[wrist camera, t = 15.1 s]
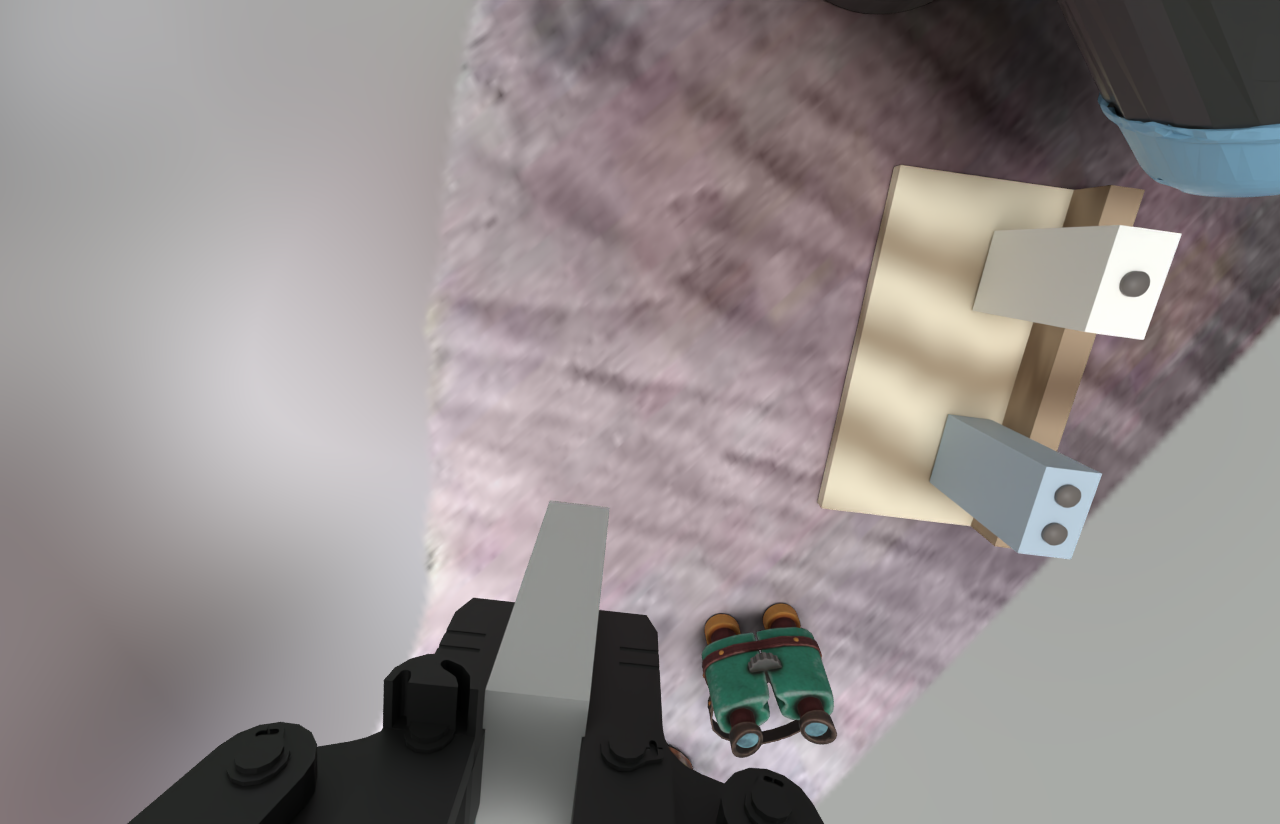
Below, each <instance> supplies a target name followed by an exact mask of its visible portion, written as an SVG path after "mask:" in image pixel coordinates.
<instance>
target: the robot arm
mask: <svg viewBox="0 0 1280 824" xmlns="http://www.w3.org/2000/svg"><path fill="white" fill-rule="evenodd" d="M826 1H828V2H830V3H832V4H834V5H837V6H840V7H842V8H845V9H848V10H852V11H856V12H861V13H870V14H888V13H896V12H902V11H906V10H911V9H914V8H917V7H920V6H922V5H925V4H927V3H930V2H932V1H934V0H826ZM1057 1H1058V3H1059V5H1060V8H1061V10H1062V12H1063V14H1064V16H1065V18H1066V20H1067V23H1068V25H1069V27H1070V29H1071V31H1072V33H1073V36H1074V38H1075V40H1076V42H1077V44H1078V46H1079V49H1080V51H1081V53H1082V55H1083V57H1084V59H1085V61H1086V64H1087V66H1088V68H1089V70H1090V72H1091V74H1092V77H1093V79H1094V81H1095V83H1096V85H1097V87H1098V90H1099V92H1100V93H1099V97H1098V102H1099V104H1100V106H1101V109H1102V111H1103V113H1104V114H1105V115H1106V116H1107V118H1108V119H1109V120H1111V121H1112V122H1114V123H1115V124H1117V125H1118V126H1119V128H1120V130H1121V132H1122V133H1123V135H1124V137H1125V139H1126V140H1127V142H1128V144H1129V146H1130V148H1131V150H1132V151H1133V153H1134V155H1135V157H1136V159H1137V161H1138V162H1139V164H1140V166H1141V167H1142V169H1143V170H1144V171H1145V172H1146V173H1147V174H1148V175H1149V176H1150V177H1151V178H1153V179H1154V180H1155V181H1157V182H1158V183H1161V184H1165V185H1168V186H1172V187H1174V188H1177V189H1179V190H1181V191H1182V192H1185V193H1189V194H1194V195H1201V196H1212V197H1258V196H1270V195H1279V194H1280V0H1057ZM608 518H609V508H608V507H600V506H591V505H583V504H574V503H566V502H558V501H550V502H549V505H548V508H547V511H546V514H545V516H544V519H543V522H542V525H541V528H540V531H539V534H538V537H537V540H536V543H535V546H534V549H533V552H532V555H531V558H530V560H529V563H528V566H527V569H526V572H525V575H524V578H523V581H522V584H521V587H520V590H519V593H518V596H517V599H516V602H507V601H498V600H489V599H480V598H472V599H471V600H470V601H469V602H467V603H466V604H465V605H464V606H462V607H461V608H460V609H459V610H457V611H456V612H455V614H454V616H453V618H452V620H451V622H450V624H449V626H448V628H447V631H446V633H445V634H444V636H443V638H442V640H441V642H440V644H439V648H437V650H436V652H435V654H426V655H423V656H419V657H415V658H412V659H409V660H407V661H406V662H404V663H402V664H401V665H399V666H397V667H395V668H394V669H393V670H392V672H391V673H390V674H389V675H388V676H387V677H386V678H385V679H384V704H383V729H382V731H380V732H378V733H376V734H373V735H371V736H369V737H366V738H362V739H358V740H354V741H350V742H344V743H338V744H331V745H326V746H319V747H317V743H316V741H315V739H314V737H313V735H312V732H310V731H309V730H307V729H305V728H304V727H302V726H300V725H299V724H291V723H284V722H277V723H271V724H264V725H259V726H256V727H253V728H251V729H248V730H246V731H243V732H240V733H238V734H236V735H235V736H233V737H232V738H230V739H229V740H227V741H226V742H224V743H223V744H221V745H220V746H218V747H217V748H216V749H215V750H214V751H212V752H211V753H210V754H209V755H208V756H206V757H205V758H204V759H203V760H202V761H201V762H199V763H198V764H197V765H196V766H195V767H193V768H192V769H191V770H190V771H189V772H188V773H186V774H185V775H184V776H183V777H182V778H181V779H179V780H178V781H177V782H176V783H175V784H173V785H172V786H171V787H170V788H169V789H168V790H166V791H165V792H164V793H163V794H162V795H160V796H159V797H158V798H157V799H156V800H155V801H153V802H152V803H151V804H150V805H149V806H148V807H146V808H145V809H144V810H143V811H142V812H141V813H139V814H138V815H137V816H136V817H135V818H133V819H132V820H131V821H130V822H129V823H128V824H474V823H475V824H824V823H823V821H822V819H821V817H820V816H819V814H818V812H817V810H816V808H815V807H814V805H813V803H812V802H811V801H810V799H809V798H808V797H807V795H806V794H805V793H804V792H803V790H802V789H801V788H800V787H799V786H797V785H796V784H795V783H793V782H792V781H791V780H789V779H788V778H787V777H785V776H783V775H781V774H778V773H776V772H773V771H771V770H768V769H759V768H748V769H745V770H742V771H738V772H735V773H734V774H733V775H732V776H731V777H730V778H729V779H728V780H727V781H726V782H725V784H724V783H722V782H719V781H717V780H714V779H712V778H709V777H707V776H705V775H702V774H700V773H698V772H696V771H694V770H692V769H690V768H689V767H688V766H686V765H685V764H684V763H682V762H681V761H680V760H679V759H678V758H677V757H676V756H675V755H674V753H673V752H672V751H671V750H670V748H669V746H668V744H667V742H666V740H665V737H664V733H663V726H662V707H661V689H660V670H659V655H658V633H657V631H656V629H655V628H654V626H653V625H652V623H651V622H650V620H649V618H648V617H647V615H639V614H630V613H621V612H612V611H603V610H599V604H600V595H601V585H602V575H603V566H604V556H605V546H606V537H607V527H608ZM475 819H476V822H475Z"/></svg>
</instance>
